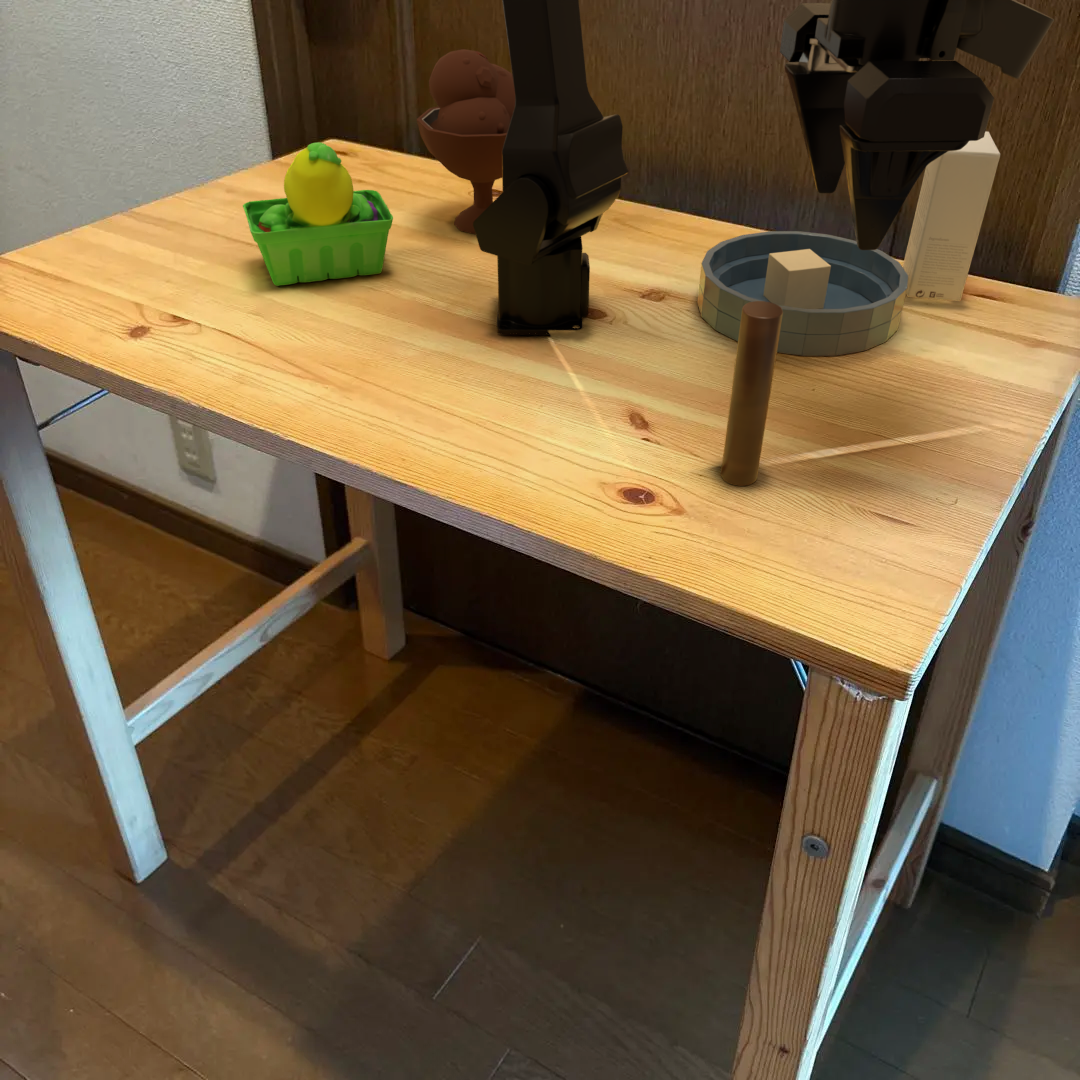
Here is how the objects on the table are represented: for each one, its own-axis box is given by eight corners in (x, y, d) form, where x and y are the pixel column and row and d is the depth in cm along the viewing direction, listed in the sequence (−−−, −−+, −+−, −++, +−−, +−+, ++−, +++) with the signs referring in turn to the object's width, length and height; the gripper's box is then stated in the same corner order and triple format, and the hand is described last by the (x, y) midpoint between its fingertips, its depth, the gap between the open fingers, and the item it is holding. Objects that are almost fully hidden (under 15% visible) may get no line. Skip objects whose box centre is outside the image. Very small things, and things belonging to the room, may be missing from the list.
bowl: (712, 363, 75) (718, 312, 72) (686, 277, 87) (691, 231, 84) (922, 363, 75) (935, 312, 72) (867, 277, 87) (877, 230, 84)
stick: (723, 486, 62) (746, 318, 56) (718, 466, 64) (739, 300, 57) (759, 486, 62) (786, 317, 56) (753, 466, 64) (779, 300, 57)
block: (782, 313, 80) (789, 270, 78) (762, 295, 83) (769, 253, 80) (823, 308, 81) (831, 265, 78) (802, 290, 83) (809, 248, 81)
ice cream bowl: (502, 254, 90) (498, 71, 81) (401, 229, 95) (386, 53, 86) (564, 217, 98) (567, 44, 88) (467, 195, 102) (460, 29, 93)
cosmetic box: (960, 308, 82) (1002, 154, 75) (905, 303, 83) (940, 150, 75) (952, 277, 87) (990, 129, 80) (899, 273, 88) (933, 126, 80)
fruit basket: (381, 244, 92) (369, 112, 85) (403, 283, 86) (391, 143, 79) (251, 260, 89) (227, 124, 83) (263, 301, 83) (238, 158, 76)
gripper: (1150, -54, 45) (1043, 282, 55) (988, -105, 60) (925, 167, 70) (899, -54, 45) (835, 284, 55) (798, -105, 60) (761, 168, 69)
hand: (845, 219), depth 62 cm, fingers open, 9 cm apart
